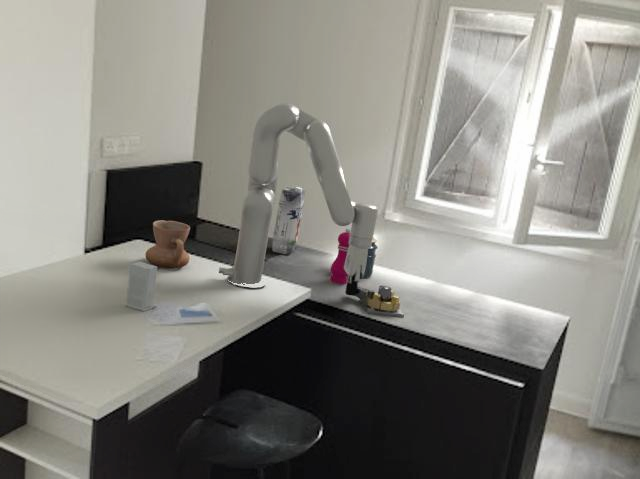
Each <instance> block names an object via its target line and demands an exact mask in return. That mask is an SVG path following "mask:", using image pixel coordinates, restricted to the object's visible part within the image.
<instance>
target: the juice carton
mask: <svg viewBox="0 0 640 479" xmlns="http://www.w3.org/2000/svg"><path fill="white" fill-rule="evenodd" d="M305 194H306V191H305V190H303V188H302V187H299V186H296V187H295V188H292V187H285V188H284V189H281V193H280V196H279V202H278V206H277V213H276V219H275V226H274V231H273V238H272V243H271V244H272V245H271V246H272V247H271V248H272V252H273V253H279V254H283V255H287V256H290V255H291V254H292V253H293V252H294V251H295V248H296V246H297V243H298V238H299V233H300V226H301V221H302V215H303V209H304V205H305V204H304V202H305Z"/></svg>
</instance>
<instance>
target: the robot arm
mask: <svg viewBox="0 0 640 479" xmlns="http://www.w3.org/2000/svg"><path fill="white" fill-rule="evenodd" d="M285 132H288V133H290V134H291V135H293V136H294V137H297V139H298V138H299V139H300V140H302V141H304V142H305V146H306V148H307V151H308V153H309V156H310V160H311V163H312V165H313V169H314V172H315V175H316V178H317V182H318V183H319V186H320V187H321V190H322V193H323V196H324V199H325V202H326V205H327V208H328V210H329V214H330V217H331V219H332V221H333V223H334V224H336V225H337V226H340V227H346V226H349V225H351V228H350V237H349V243H348V244H349V248H348V252H347V256H346V260H345V265H344V270H345V271H346V273H347V274H348V276H347V283H346V286H345V287H346V288H345V294H346V295H347V296H353V297H356V296H355V295H356V290H357V286H358V284H359V282H360V279H361V278H362V277H363V276H364V272H365V267H366V261H367V254H368V249H370V248H371V245H372V239H373V237H374V235H375V234H374V233H375V229H376V223H377V218H378V212H379V209H378V207H377V206H375V205H373V204H369V203H364V202H363V203H362V202H356V201H353V200H351V197H350V193H349V190H348V188H347V184H346V180H345V176H344V171H343V167H342V163H341V161H340V158H339V155H338V152H337V149H336V146H335V143H334V139H333V137H332V136H333V135H332V132H331V130H330V127H329V126H328V124H327V123H326V122H324V121H323V120H321V119H319V118H316V117H315V116H314V115H311V114H309V113H308V112H306V111H304V110H302V109H300V108H299V107H297V106H295V105H294V104H292V103H288V102H284V103H280V104H277V105H274V106H273V107H272V106H271V107H270V108H269V109H267V110H266V111H264V112H263V113H262V114H261V115H260V116H259V117H258V119H257V121H256V123H255V125H254V129H253V136H252V142H251V146H250V147H251V150H250V157H249V163H248V168H247V170H248V173H247V174H248V186H247V194H246V196H245V198H244V200H243V203H242V210H241V217H240V226H239V230H238V231H239V232H238V239H237V245H236V252H235V258H234V264H233V265H232V266H231V267H229V268H227V267H219V268H218V273H219V274H222V275H223V276H227V278H226V280H227V279H228V280H229V281H231V282H233V283H237V284H241V283H242V284H243V283H246V284H255V283H259V282H260V281H261V279H262V277H263V276H262V275H263V271H264V266H265V258H266V253H267V246H268V241H269V235H270V234H269V233H270V228H271V223H272V222H271V221H272V217H273V212H274V208H275V207H274V206H275V203H276V195H277V188H278V187H277V186H278V177H279V170H280V169H279V162H278V154H279V149H280V148H279V147H280V139H281V136H282V134H283V133H285ZM360 277H361V278H360ZM362 279H363V278H362ZM243 285H245V284H243Z"/></svg>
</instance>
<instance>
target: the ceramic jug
mask: <svg viewBox="0 0 640 479" xmlns="http://www.w3.org/2000/svg"><path fill="white" fill-rule="evenodd" d="M152 230H153V236H154V239H155V243H156V244H155V245H153V246H151V247H150V248H148V249H147V250H146V252H145V259H146V261H147V262H148V263H149V264H150V265H153V266H157V268H163V269H170V270H173V269H179V268H180V269H181V268H183V267H186V266H187V265H189V262H190V255H189V254H188V252H187V251H186V250H185V249H184V245H185V242H186V240H187V239H188V236H189V234H190V230H191V226H190V225H188V224H186V223H183V222H179V221H175V220H167V221H166V220H163V219H162V220H155V221H154V222H152Z"/></svg>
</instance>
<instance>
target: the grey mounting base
mask: <svg viewBox="0 0 640 479" xmlns="http://www.w3.org/2000/svg"><path fill="white" fill-rule="evenodd" d="M391 290H392V288H391V287H390V286H388V285H384V284H383V285H379V287H378V292H377V293H378V294H380V295H381V299H380V301H384V302H389V298H390V293H391ZM359 303H360V305H361V306H362V307H363V308H364V310H365V311H366V312H367V314H371V315H380V316H381V315H382V316H387V317H388V316H390V317H398V318H404V316H405V314H404V312H403V311H402V309H400V308H399V309H397V310H394V311H388V310H380V309H377V308H374V307H372V306H369V305H367V303H366V302H365V300H362V299H359Z"/></svg>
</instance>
